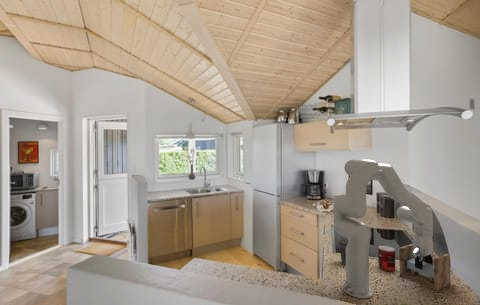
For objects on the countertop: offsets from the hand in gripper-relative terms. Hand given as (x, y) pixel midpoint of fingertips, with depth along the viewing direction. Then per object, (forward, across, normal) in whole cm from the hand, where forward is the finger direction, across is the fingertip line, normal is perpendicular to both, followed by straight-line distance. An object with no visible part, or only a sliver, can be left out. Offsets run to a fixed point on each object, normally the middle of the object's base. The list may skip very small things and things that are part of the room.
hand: (423, 266), depth 121 cm
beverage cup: (+7, +18, -31) cm, 36 cm away
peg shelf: (+6, 0, 0) cm, 6 cm away
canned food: (+7, +4, -16) cm, 18 cm away
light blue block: (+2, 0, 0) cm, 2 cm away
